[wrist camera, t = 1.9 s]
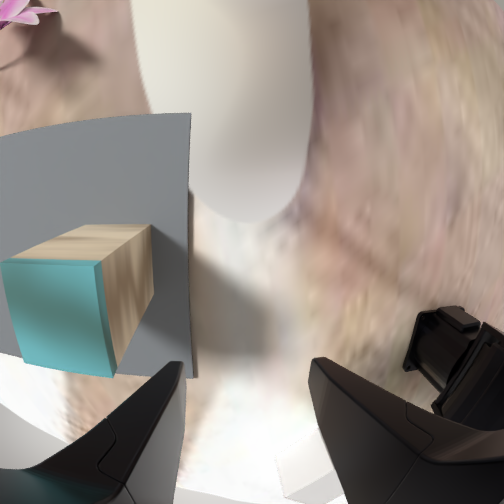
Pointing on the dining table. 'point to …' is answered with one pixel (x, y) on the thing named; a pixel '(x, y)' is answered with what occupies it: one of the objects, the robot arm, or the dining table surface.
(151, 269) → the maple block
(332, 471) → the light grey cube
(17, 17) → the lily
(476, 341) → the robot arm
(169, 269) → the rubber mat
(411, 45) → the dining table surface
